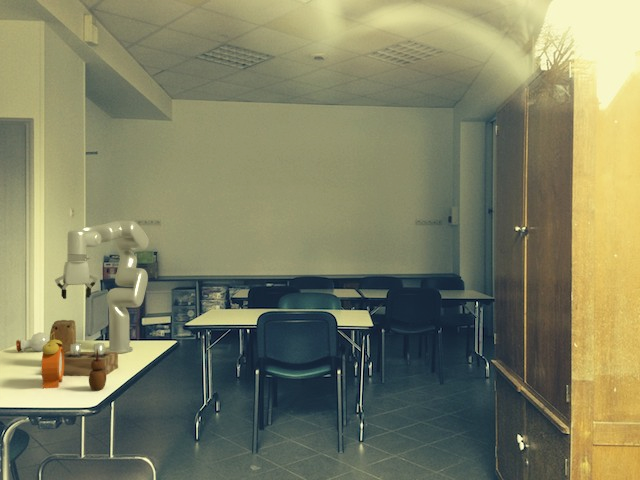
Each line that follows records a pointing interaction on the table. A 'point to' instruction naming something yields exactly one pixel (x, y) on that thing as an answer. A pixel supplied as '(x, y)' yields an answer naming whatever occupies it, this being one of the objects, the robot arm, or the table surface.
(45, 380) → the alarm clock
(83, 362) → the socket block
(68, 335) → the block
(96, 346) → the peg
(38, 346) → the potion bottle
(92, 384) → the wooden figurine
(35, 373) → the table surface
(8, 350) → the table surface
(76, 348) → the peg
